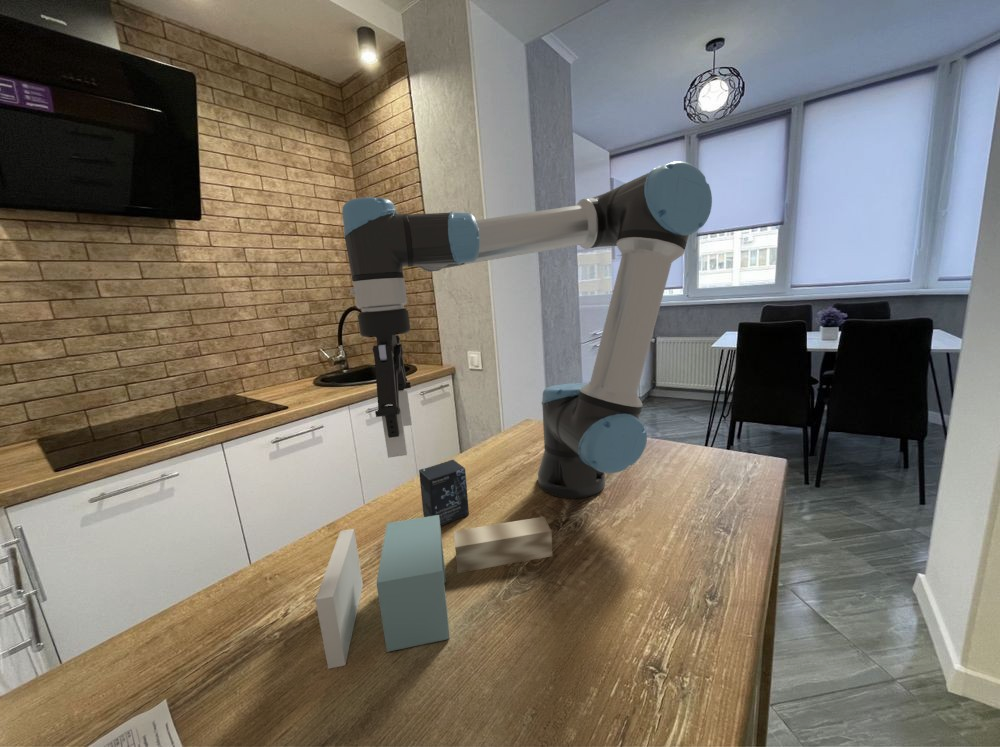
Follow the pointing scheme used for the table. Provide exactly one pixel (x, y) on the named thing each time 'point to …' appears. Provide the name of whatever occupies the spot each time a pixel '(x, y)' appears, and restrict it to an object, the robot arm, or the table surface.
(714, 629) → the table surface
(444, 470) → the box
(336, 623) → the wall
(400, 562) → the block
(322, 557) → the table surface
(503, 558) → the rectangular bar
